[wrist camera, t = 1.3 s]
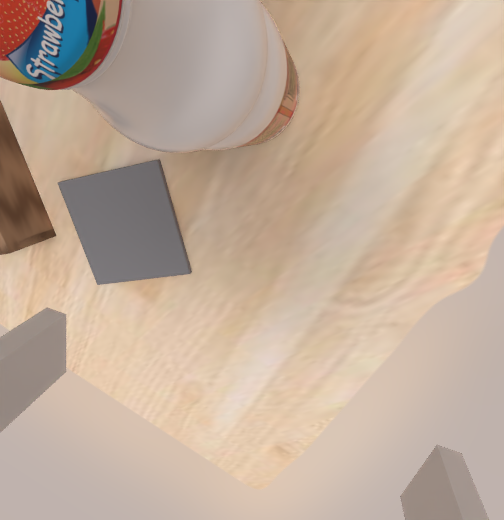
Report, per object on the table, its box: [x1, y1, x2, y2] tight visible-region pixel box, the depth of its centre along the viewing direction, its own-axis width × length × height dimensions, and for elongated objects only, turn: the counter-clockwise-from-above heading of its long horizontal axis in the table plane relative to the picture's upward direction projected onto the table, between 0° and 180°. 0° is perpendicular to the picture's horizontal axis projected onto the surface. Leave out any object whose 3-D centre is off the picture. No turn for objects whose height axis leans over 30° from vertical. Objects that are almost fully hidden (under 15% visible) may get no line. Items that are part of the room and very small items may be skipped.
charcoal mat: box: [58, 160, 192, 285], centre depth 41 cm, size 14×14×1 cm
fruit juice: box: [0, 0, 300, 153], centre depth 20 cm, size 9×9×28 cm
